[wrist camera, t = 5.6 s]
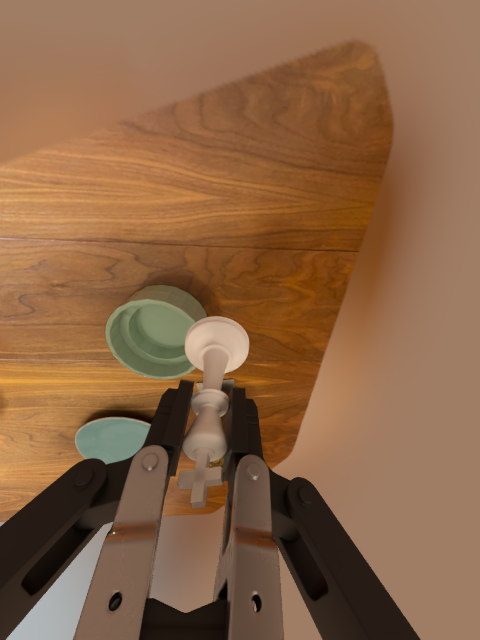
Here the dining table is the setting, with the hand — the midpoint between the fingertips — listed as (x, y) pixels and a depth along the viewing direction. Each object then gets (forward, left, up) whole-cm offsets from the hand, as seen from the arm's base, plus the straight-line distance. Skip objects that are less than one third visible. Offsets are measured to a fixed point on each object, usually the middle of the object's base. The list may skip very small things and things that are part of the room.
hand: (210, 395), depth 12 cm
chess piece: (0, 0, -5) cm, 5 cm away
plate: (+42, -14, -22) cm, 50 cm away
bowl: (+9, -8, -22) cm, 25 cm away
